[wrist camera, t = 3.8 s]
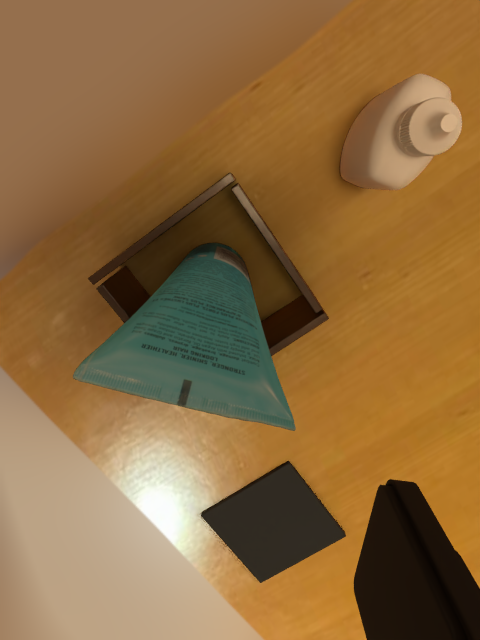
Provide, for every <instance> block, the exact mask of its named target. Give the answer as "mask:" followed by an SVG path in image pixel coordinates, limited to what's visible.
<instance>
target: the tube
mask: <svg viewBox="0 0 480 640" xmlns="http://www.w3.org/2000/svg"><path fill="white" fill-rule="evenodd" d="M73 378H74V379H75V380H78V381H81V382H85V383H90V384H93V385H97V386H101V387H104V388H108V389H112V390H116V391H120V392H124V393H127V394H132V395H137V396H140V397H143V398H147V399H152V400H157V401H161V402H165V403H169V404H174V405H178V406H182V407H185V408H189V409H194V410H198V411H203V412H207V413H211V414H216V415H220V416H224V417H228V418H235V419H240V420H244V421H251V422H259V423H264V424H267V425H272V426H276V427H281V428H285V429H288V430H292V431H295V430H296V428H295V424H294V420H293V416H292V414H291V411H290V408H289V406H288V403H287V400H286V398H285V395H284V392H283V390H282V387H281V384H280V382H279V379H278V376H277V373H276V370H275V367H274V364H273V360H272V357H271V354H270V351H269V348H268V345H267V341H266V338H265V335H264V331H263V328H262V324H261V321H260V317H259V314H258V310H257V306H256V303H255V299H254V295H253V291H252V287H251V283H250V278H249V274H248V271H247V268H246V265H245V262H244V261H243V259H242V257H241V256H240V255H239V254H238V253H237V252H236V251H235V250H233V249H232V248H231V247H229V246H226V245H223V244H219V243H207V244H203V245H200V246H198V247H196V248H195V249H193V250H192V251H191V252H190V253H189V254H188V255H187V256H186V257H185V258H184V260H183V261H182V262H181V263H180V264H179V266H178V267H177V268H176V269H175V270H174V272H173V273H172V274H171V275H170V276H169V277H168V279H167V280H166V281H165V282H164V283H163V284H162V285H161V286H160V287H159V289H158V290H157V291H156V292H155V293H154V294H153V295H152V296H151V297H150V298H149V299H148V300H147V301H146V302H145V303H144V304H143V305H142V306H141V307H140V308H139V310H138V311H137V312H136V313H135V314H134V315H133V316H132V317H131V318H130V319H129V320H127V321H126V322H125V323H124V324H123V325H122V326H121V327H120V328H119V329H118V330H117V331H116V332H115V333H114V334H112V335H111V336H110V337H109V338H108V339H107V340H106V341H105V342H104V343H103V344H102V345H100V346H99V347H98V348H97V349H96V350H95V351H94V352H93V353H91V354H90V355H89V356H88V357H87V358H86V359H85V360H84V361H82V363H81V364H80V365H79V366H78V368H77V369H76V371H75V373H74V374H73Z"/></svg>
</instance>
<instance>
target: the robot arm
mask: <svg viewBox="0 0 480 640" xmlns="http://www.w3.org/2000/svg"><path fill="white" fill-rule="evenodd" d="M354 593H355V597H356V601H357V605H358V608H359V612H360V616H361V619H362V623H363V627H364V630H365V634H366V638H367V640H480V588H479V587H478V585H477V583H476V582H475V580H474V578H473V576H472V575H471V573H470V571H469V570H468V568H467V566H466V564H465V563H464V561H463V559H462V558H461V556H460V555H459V554H458V552H457V551H455V550H454V548H453V546H452V545H451V543H450V541H449V539H448V538H447V536H446V534H445V532H444V531H443V529H442V527H441V525H440V524H439V522H438V520H437V518H436V517H435V515H434V513H433V511H432V510H431V508H430V506H429V505H428V503H427V501H426V499H425V498H424V496H423V494H422V492H421V491H420V489H419V487H418V486H417V484H416V483H414V482H407V481H399V480H391V479H390V480H388V481H387V483H386V485H380V486H379V487H378V490H377V494H376V497H375V501H374V505H373V509H372V512H371V516H370V520H369V524H368V527H367V531H366V535H365V539H364V542H363V546H362V550H361V554H360V557H359V561H358V565H357V569H356V572H355V577H354Z"/></svg>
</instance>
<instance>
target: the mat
mask: <svg viewBox="0 0 480 640" xmlns="http://www.w3.org/2000/svg"><path fill="white" fill-rule="evenodd" d="M201 516H202V517H203V518H204V520H205V521H206V522H207V523H208V524H209V525H210V526H211V528H212V529H213V530H214V531H215V532H216V533H217V534H218V535H219V537H220V538H221V539H222V540H223V541H224V542H225V543H226V544H227V546H228V547H229V548H230V549H231V550H232V551H233V552H234V554H235V555H236V556H237V557H238V558H239V559H240V560H241V561H242V563H243V564H244V565H245V566H246V567H247V568H248V569H249V570H250V572H251V573H252V574H253V575H254V576H255V577H256V578H257V580H258V581H259V582H260V583H262V582H263V581H265V580H267V579H269V578H271V577H273V576H274V575H276V574H278V573H280V572H282V571H284V570H285V569H287V568H289V567H291V566H293V565H294V564H296V563H298V562H300V561H302V560H304V559H305V558H307V557H309V556H311V555H313V554H314V553H316V552H318V551H320V550H322V549H324V548H325V547H327V546H329V545H331V544H333V543H335V542H336V541H338V540H340V539H342V538H344V537H345V536H346V535H345V532H344V531H343V530H342V528H341V527H340V526H339V525H338V523H337V522H336V521H335V520H334V518H333V517H332V516H331V514H330V513H329V512H328V511H327V509H326V508H325V507H324V505H323V504H322V503H321V502H320V500H319V499H318V498H317V496H316V495H315V494H314V493H313V491H312V490H311V489H310V488H309V486H308V485H307V484H306V482H305V481H304V480H303V479H302V477H301V476H300V475H299V473H298V472H297V471H296V470H295V468H294V467H293V466H292V464H291V463H290V462H289V461H288V462H286V463H284V464H283V465H281V466H279V467H277V468H276V469H274V470H272V471H271V472H269V473H267V474H266V475H264V476H262V477H261V478H259V479H257V480H256V481H254V482H252V483H251V484H249V485H247V486H246V487H244V488H242V489H241V490H239V491H237V492H236V493H234V494H232V495H231V496H229V497H227V498H226V499H224V500H222V501H220V502H219V503H217V504H215V505H214V506H212V507H210V508H209V509H207V510H205V511H204V512H202V513H201Z"/></svg>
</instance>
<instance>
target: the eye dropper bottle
mask: <svg viewBox="0 0 480 640" xmlns="http://www.w3.org/2000/svg"><path fill="white" fill-rule="evenodd" d="M461 120H462V118H461V113H460V110H458V108H457V106H455V104H453V102H451V92H450V88H449V87H448V86H447V85H446V84H445V83H443V82H441V81H439V80H437V79H435V78H433V77H431V76H428V75H425V74H416V75H413V76H411V77H409V78H407V79H405V80H403V81H402V82H400V83H398V84H397V85H395V86H393V87H391V88H390V89H388V90H386V91H385V92H383V93H381V94H380V95H378V96H376V97H375V98H374V99H372V100H371V101H370V102H369V103H368V104H367V105H366V106H365V108H364V109H363V110H362V111H361V112H360V114H359V115H358V117H357V118H356V119H355V121H354V123H353V124H352V126H351V128H350V130H349V132H348V135H347V137H346V140H345V143H344V146H343V150H342V155H341V162H340V174H341V177H342V178H343V179H344V180H345V181H347V182H350V183H352V184H354V185H356V186H359V187H361V188H368V189H381V190H399V189H402V188H404V187H405V186H407V185H408V184H409V183H411V182H412V181H413V180H414V179H415V178H416V177H417V176H418V175H419V174H420V173H421V172H422V171H423V170H424V169H425V167H426V166H427V165H428V164H429V162H430V161H431V160H432V158H433V157H434V155H439V154H442V153H443V152H445V151H447V149H449V148H450V147H452V145H454V143H455V142H456V140H457V139H458V137H459V135H460V132H461V128H462V127H461V126H462V124H461V123H462V121H461Z"/></svg>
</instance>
